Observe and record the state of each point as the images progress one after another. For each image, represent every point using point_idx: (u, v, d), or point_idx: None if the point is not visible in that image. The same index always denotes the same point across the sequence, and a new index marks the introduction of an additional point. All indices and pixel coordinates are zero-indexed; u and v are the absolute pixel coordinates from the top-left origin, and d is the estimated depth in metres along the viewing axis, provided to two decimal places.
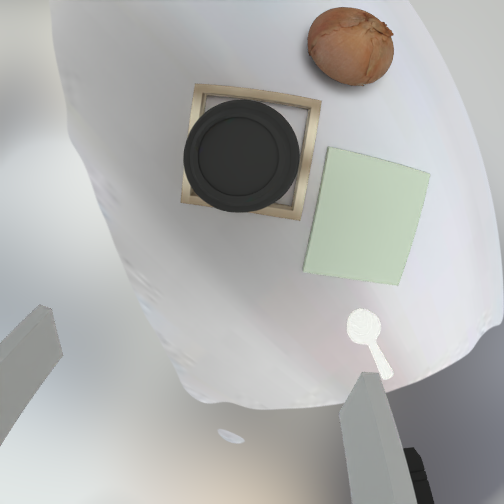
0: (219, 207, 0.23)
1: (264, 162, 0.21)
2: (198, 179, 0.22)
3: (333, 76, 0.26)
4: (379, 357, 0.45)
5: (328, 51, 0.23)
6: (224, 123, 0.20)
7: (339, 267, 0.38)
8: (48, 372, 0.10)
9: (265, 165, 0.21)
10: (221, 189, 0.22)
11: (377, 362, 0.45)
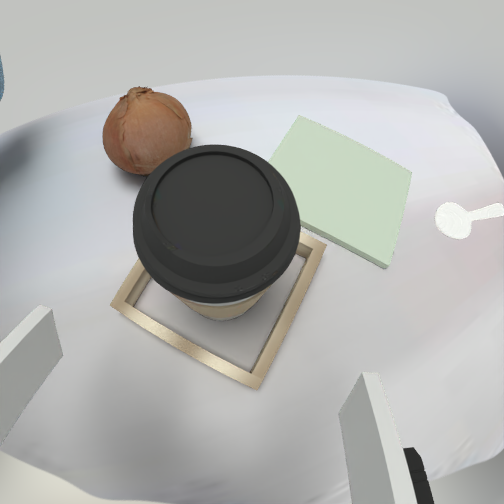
0: (280, 263, 0.14)
1: (234, 174, 0.15)
2: (221, 264, 0.13)
3: (171, 152, 0.27)
4: (484, 212, 0.34)
5: (141, 137, 0.24)
6: (158, 203, 0.14)
7: (388, 224, 0.30)
8: (48, 372, 0.10)
9: (238, 174, 0.15)
10: (252, 239, 0.14)
11: (489, 216, 0.34)
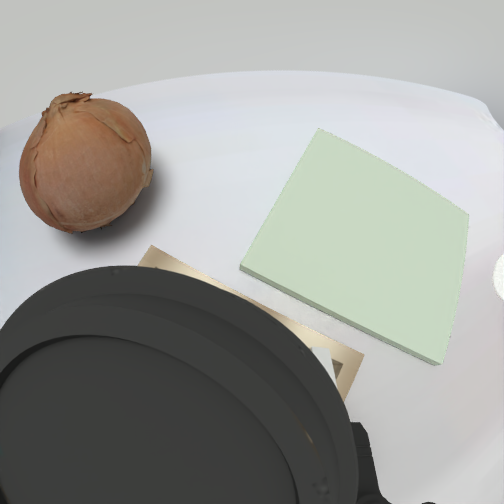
0: None
1: (172, 423, 0.04)
2: None
3: (112, 202, 0.16)
4: None
5: (59, 182, 0.13)
6: (1, 464, 0.03)
7: (443, 300, 0.19)
8: None
9: (187, 424, 0.04)
10: None
11: None
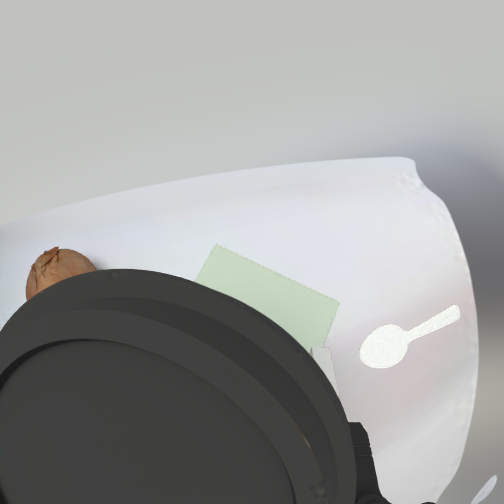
0: None
1: (170, 426, 0.04)
2: None
3: None
4: (429, 325, 0.35)
5: None
6: (1, 466, 0.03)
7: None
8: None
9: (185, 428, 0.04)
10: None
11: (435, 327, 0.34)
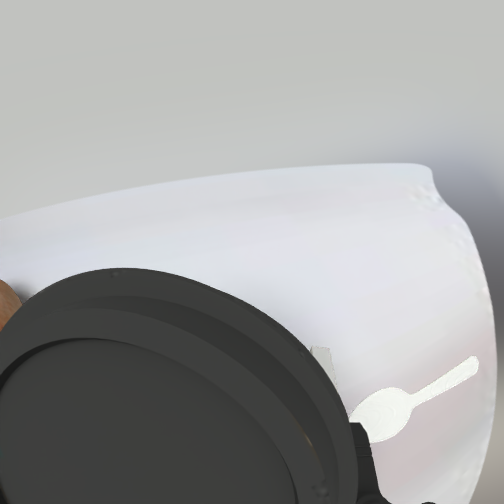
0: None
1: (172, 426, 0.04)
2: None
3: None
4: (441, 384, 0.25)
5: None
6: (1, 465, 0.03)
7: None
8: None
9: (187, 427, 0.04)
10: None
11: (447, 386, 0.24)
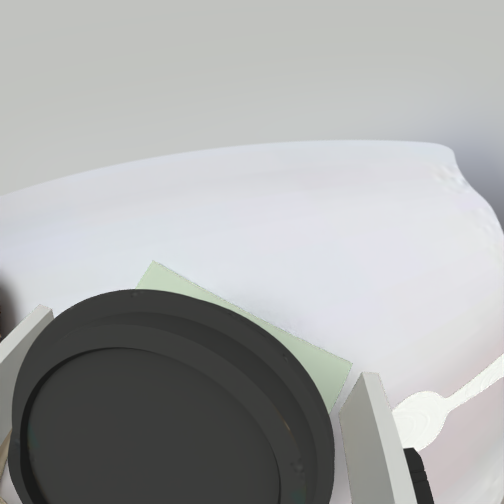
0: None
1: (183, 414, 0.05)
2: None
3: None
4: (475, 385, 0.20)
5: None
6: (36, 455, 0.04)
7: None
8: None
9: (194, 415, 0.05)
10: None
11: (482, 387, 0.20)
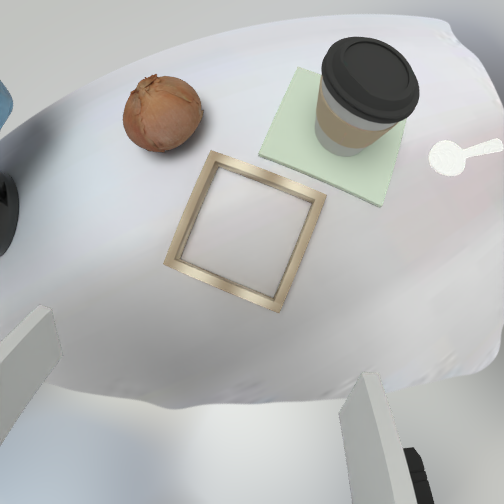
0: (415, 102, 0.20)
1: (382, 54, 0.20)
2: (394, 100, 0.19)
3: (188, 132, 0.31)
4: (480, 148, 0.34)
5: (160, 129, 0.29)
6: (347, 67, 0.20)
7: (382, 168, 0.34)
8: (48, 371, 0.10)
9: (384, 55, 0.20)
10: (403, 89, 0.20)
11: (485, 152, 0.34)
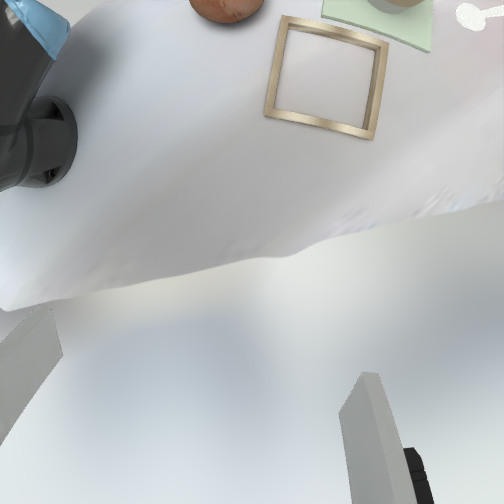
0: None
1: None
2: None
3: (261, 2, 0.26)
4: (494, 11, 0.24)
5: (240, 0, 0.24)
6: None
7: (423, 22, 0.27)
8: (48, 371, 0.10)
9: None
10: None
11: (499, 14, 0.24)
